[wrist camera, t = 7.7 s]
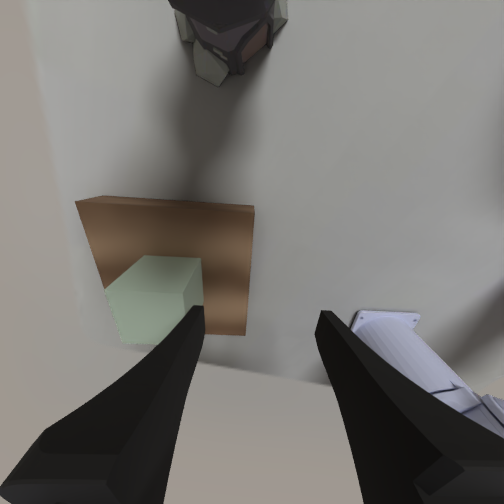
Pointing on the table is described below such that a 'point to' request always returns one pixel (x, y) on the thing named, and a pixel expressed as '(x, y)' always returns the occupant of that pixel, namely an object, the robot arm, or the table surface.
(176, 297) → the sage cube
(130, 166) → the table surface
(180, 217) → the walnut plinth
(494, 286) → the table surface
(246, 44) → the model tower
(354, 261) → the table surface
